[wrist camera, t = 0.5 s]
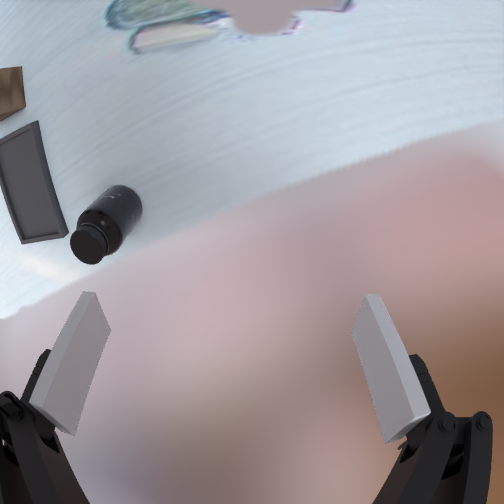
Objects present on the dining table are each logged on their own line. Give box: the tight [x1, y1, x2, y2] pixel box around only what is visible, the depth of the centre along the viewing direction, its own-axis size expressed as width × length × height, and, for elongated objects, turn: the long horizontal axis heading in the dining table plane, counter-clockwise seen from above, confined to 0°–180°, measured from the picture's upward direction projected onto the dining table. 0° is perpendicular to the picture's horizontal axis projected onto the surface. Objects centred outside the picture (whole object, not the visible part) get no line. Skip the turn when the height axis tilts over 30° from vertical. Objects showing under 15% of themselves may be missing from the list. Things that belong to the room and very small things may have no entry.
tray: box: [0, 121, 69, 244], centre depth 35 cm, size 20×12×2 cm, turn 5°
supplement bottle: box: [70, 186, 141, 265], centre depth 34 cm, size 7×7×12 cm
